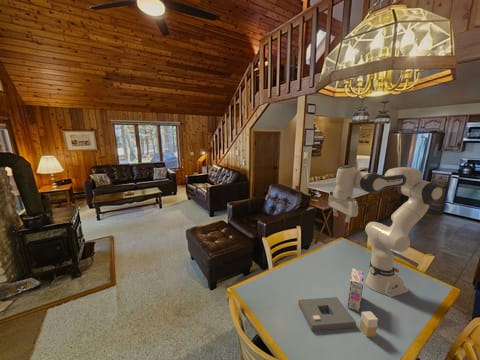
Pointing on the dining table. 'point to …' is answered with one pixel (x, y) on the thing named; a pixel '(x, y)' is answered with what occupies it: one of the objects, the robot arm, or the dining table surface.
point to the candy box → (355, 290)
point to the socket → (324, 322)
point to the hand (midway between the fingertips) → (341, 218)
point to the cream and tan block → (368, 324)
